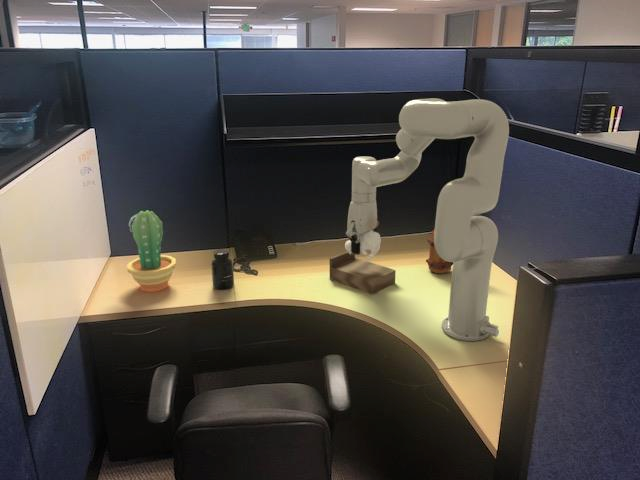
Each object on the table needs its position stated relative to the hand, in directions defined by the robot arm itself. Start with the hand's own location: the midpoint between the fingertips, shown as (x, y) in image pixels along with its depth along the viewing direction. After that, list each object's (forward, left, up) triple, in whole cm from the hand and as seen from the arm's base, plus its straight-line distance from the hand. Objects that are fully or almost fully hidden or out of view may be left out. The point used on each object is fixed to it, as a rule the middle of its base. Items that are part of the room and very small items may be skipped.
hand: (362, 250), depth 167 cm
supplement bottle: (+31, +33, -11) cm, 47 cm away
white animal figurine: (0, 0, -2) cm, 2 cm away
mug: (-17, -25, -11) cm, 32 cm away
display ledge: (0, 0, -11) cm, 11 cm away
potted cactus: (+48, +48, -11) cm, 69 cm away
